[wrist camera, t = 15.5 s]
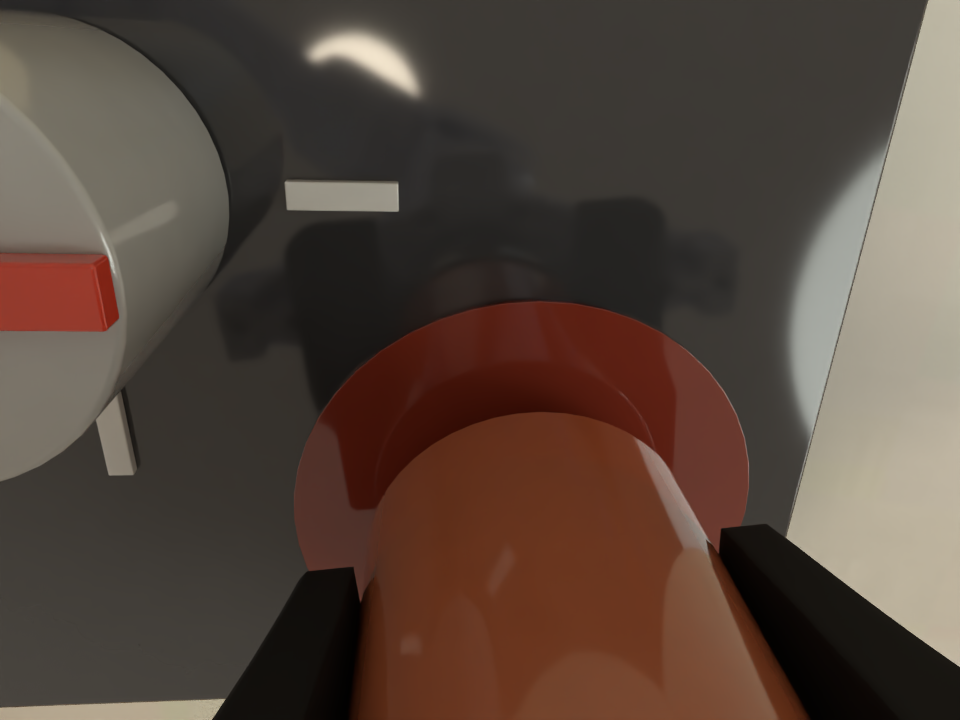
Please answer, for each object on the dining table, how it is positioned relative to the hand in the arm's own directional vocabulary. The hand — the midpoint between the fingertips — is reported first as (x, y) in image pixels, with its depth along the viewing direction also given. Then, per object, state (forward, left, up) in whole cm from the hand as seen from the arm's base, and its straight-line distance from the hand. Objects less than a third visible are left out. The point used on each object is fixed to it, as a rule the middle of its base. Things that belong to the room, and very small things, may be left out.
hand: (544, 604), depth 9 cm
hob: (-2, -3, -4) cm, 5 cm away
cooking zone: (0, 0, -2) cm, 2 cm away
